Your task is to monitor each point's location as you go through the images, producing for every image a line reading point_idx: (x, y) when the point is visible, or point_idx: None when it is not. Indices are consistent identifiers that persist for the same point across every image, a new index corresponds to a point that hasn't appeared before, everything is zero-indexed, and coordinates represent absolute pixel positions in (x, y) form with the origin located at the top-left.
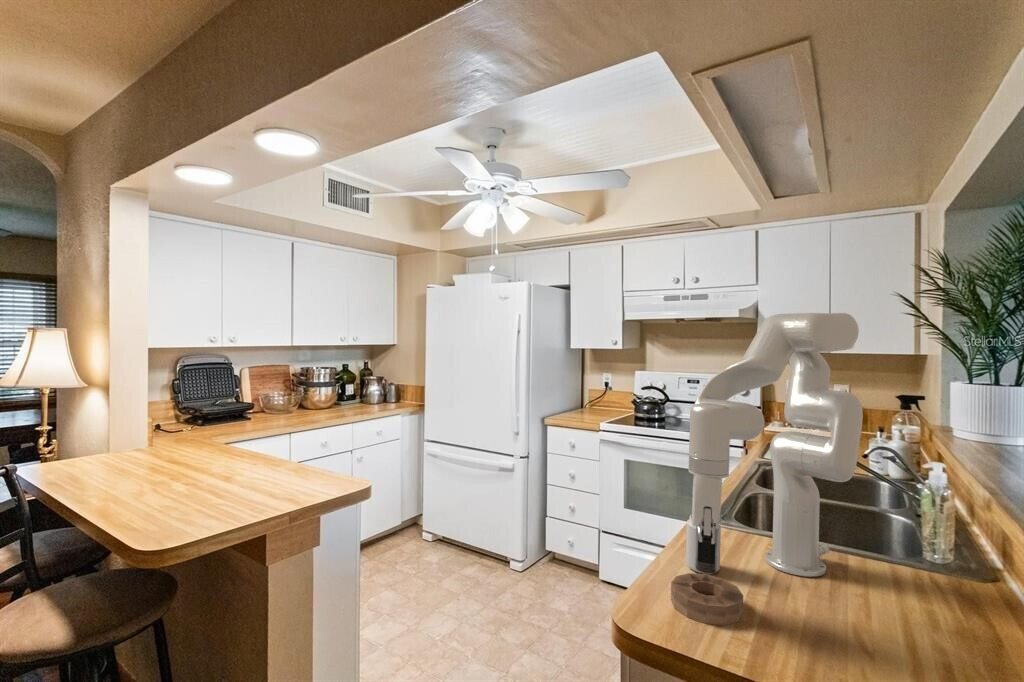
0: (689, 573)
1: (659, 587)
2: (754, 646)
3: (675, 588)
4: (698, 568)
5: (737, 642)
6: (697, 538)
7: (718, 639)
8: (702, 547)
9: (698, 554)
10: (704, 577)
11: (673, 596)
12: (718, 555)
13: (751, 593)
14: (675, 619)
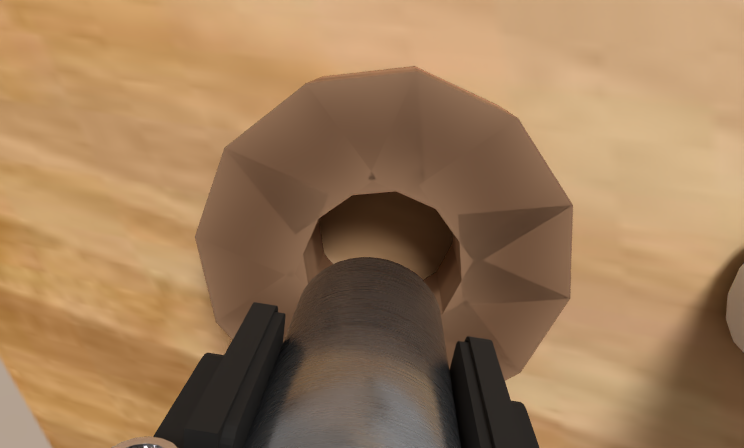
0: (568, 205)
1: (548, 11)
2: (135, 346)
3: (338, 91)
4: (317, 278)
5: (136, 297)
6: (287, 439)
7: (127, 233)
8: (162, 426)
9: (237, 339)
10: (524, 281)
11: (344, 76)
12: None
13: (546, 433)
14: (219, 70)
